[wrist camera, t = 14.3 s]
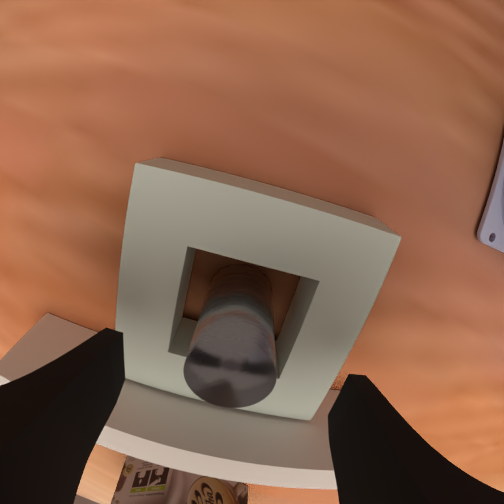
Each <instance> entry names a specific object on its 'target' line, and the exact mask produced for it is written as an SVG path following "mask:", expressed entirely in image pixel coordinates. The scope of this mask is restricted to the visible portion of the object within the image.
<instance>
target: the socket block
mask: <svg viewBox="0 0 504 504" xmlns="http://www.w3.org/2000/svg"><path fill="white" fill-rule="evenodd" d="M401 238H402V237H401V236H400V235H398V234H397V233H396V232H394V231H393V230H392V229H390V228H389V227H388V226H386V225H385V224H384V223H382V222H381V221H380V220H378V219H377V218H375V217H373V216H370V215H367V214H364V213H361V212H358V211H355V210H352V209H348V208H345V207H342V206H339V205H336V204H333V203H330V202H327V201H323V200H320V199H317V198H314V197H310V196H307V195H304V194H300V193H297V192H293V191H290V190H287V189H283V188H280V187H276V186H273V185H269V184H265V183H262V182H258V181H255V180H251V179H247V178H243V177H240V176H236V175H232V174H228V173H224V172H220V171H216V170H212V169H208V168H204V167H200V166H196V165H192V164H187V163H183V162H179V161H174V160H170V159H166V158H161V157H160V158H156V159H151V160H146V161H142V162H137V163H135V168H134V173H133V179H132V184H131V190H130V196H129V202H128V208H127V214H126V221H125V228H124V236H123V244H122V252H121V261H120V271H119V281H118V293H117V308H116V325H115V330H116V331H119V332H123V340H124V364H125V378H127V379H130V380H133V381H136V382H139V383H142V384H145V385H148V386H151V387H155V388H158V389H161V390H165V391H168V392H172V393H175V394H179V395H182V396H186V397H190V398H194V399H198V400H202V399H201V398H199V397H198V396H197V395H196V394H194V393H193V392H192V390H191V389H190V388H189V387H188V385H187V383H186V381H185V378H184V374H183V368H184V363H185V360H186V357H187V354H188V350H189V347H190V344H191V341H192V338H193V335H194V332H195V328H196V325H197V322H198V321H195V320H191V319H188V318H184V317H182V316H183V311H184V306H185V301H186V296H187V291H188V286H189V281H190V276H191V271H192V267H193V262H194V257H195V253H196V249H200V250H204V251H207V252H211V253H215V254H219V255H222V256H226V257H230V258H234V259H237V260H241V261H245V262H249V263H253V264H256V265H260V266H264V267H268V268H272V269H275V270H279V271H283V272H287V273H291V274H295V275H299V276H301V277H300V280H299V283H298V285H297V288H296V291H295V294H294V296H293V299H292V302H291V305H290V307H289V310H288V313H287V315H286V318H285V320H284V323H283V326H282V328H281V331H280V334H279V336H278V339H277V341H276V340H275V355H276V373H277V378H276V384H275V387H274V389H273V390H272V392H271V393H270V394H269V395H268V396H267V397H266V398H265V399H263V400H262V401H260V402H258V403H256V404H254V405H251V406H247V407H241V408H237V409H242V410H247V411H252V412H258V413H263V414H269V415H275V416H281V417H288V418H295V419H302V420H310V421H311V419H312V417H313V416H314V414H315V413H316V411H317V409H318V408H319V406H320V404H321V403H322V401H323V399H324V398H325V396H326V394H327V392H328V391H329V389H330V387H331V385H332V384H333V382H334V380H335V378H336V377H337V375H338V373H339V371H340V369H341V368H342V366H343V364H344V362H345V360H346V358H347V356H348V355H349V353H350V351H351V349H352V347H353V345H354V343H355V341H356V339H357V337H358V335H359V333H360V331H361V329H362V327H363V325H364V323H365V321H366V319H367V317H368V315H369V313H370V310H371V308H372V306H373V304H374V302H375V300H376V297H377V295H378V293H379V291H380V289H381V286H382V284H383V282H384V279H385V277H386V275H387V272H388V270H389V268H390V265H391V263H392V260H393V258H394V256H395V253H396V251H397V248H398V246H399V243H400V240H401ZM202 401H204V400H202Z"/></svg>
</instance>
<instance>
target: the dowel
mask: <svg viewBox="0 0 504 504" xmlns="http://www.w3.org/2000/svg"><path fill="white" fill-rule="evenodd" d="M183 374H184V378H185V381H186V383H187V385H188V387H189V388H190V389H191V390H192V392H193V393H194V394H196V395H197V396H198V397H199V398H201V399H202V400H204V401H206V402H208V403H211V404H213V405H217V406H221V407H227V408H241V407H247V406H251V405H254V404H256V403H258V402H260V401H262V400H263V399H265V398H266V397H267V396H268V395H269V394H270V393H271V392H272V390H273V389H274V387H275V384H276V378H277V373H276V355H275V338H274V322H273V305H272V291H271V285H270V283H269V280H268V279H267V277H266V276H265V275H264V274H263V273H262V272H261V271H260V270H258V269H257V268H255V267H252V266H250V265H245V264H233V265H229V266H226V267H224V268H222V269H221V270H219V271H218V272H217V273H216V274H215V275H214V277H213V278H212V280H211V283H210V286H209V289H208V292H207V295H206V298H205V301H204V304H203V307H202V310H201V313H200V316H199V319H198V322H197V325H196V328H195V332H194V335H193V338H192V341H191V344H190V347H189V350H188V354H187V357H186V360H185V363H184V368H183Z"/></svg>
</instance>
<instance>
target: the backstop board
mask: <svg viewBox="0 0 504 504" xmlns="http://www.w3.org/2000/svg"><path fill="white" fill-rule="evenodd" d="M97 333H98V332H96V331H93V330H90V329H88V328H85V327H82V326H80V325H77V324H74V323H72V322H69V321H67V320H64V319H62V318H59V317H57V316H54V315H52V314H50V313H46V314H45V315H44V316H43V317H42V318H41V319H40V320H39V321H38V322H37V323H36V324H35V325H34V326H33V327H32V328H31V329H30V330H29V331H28V332H27V333H26V334H25V335H24V336H23V337H22V338H21V339H20V340H19V341H18V342H17V343H16V344H15V345H14V346H13V347H12V348H11V349H10V351H9V352H8V353H7V354H6V355H5V356H4V357H3V358H2V359H1V360H0V386H1V385H3V384H6V383H8V382H11V381H13V380H16V379H18V378H20V377H23V376H25V375H27V374H29V373H31V372H33V371H35V370H37V369H39V368H40V367H42V366H44V365H46V364H48V363H50V362H51V361H53V360H55V359H57V358H59V357H60V356H62V355H63V354H65V353H67V352H68V351H70V350H72V349H73V348H75V347H76V346H78V345H80V344H81V343H83V342H84V341H86V340H87V339H89V338H90V337H92V336H94V335H95V334H97ZM339 393H340V390H332V389H329V391H328V392H327V394H326V396H325V398H324V399H323V401H322V403H321V404H320V406H319V408H318V409H317V411H316V413H315V414H314V416H313V417H312V419H311V421H310V420H302V419H295V418H288V417H281V416H275V415H269V414H263V413H258V412H252V411H247V410H242V409H237V408H227V407H221V406H217V405H213V404H211V403H208V402H206V401H202V400H198V399H194V398H190V397H186V396H182V395H179V394H175V393H172V392H168V391H165V390H161V389H158V388H155V387H151V386H148V385H145V384H142V383H139V382H136V381H133V380H130V379H127V378H125V381H124V384H123V387H122V390H121V392H120V395H119V398H118V400H117V403H116V405H115V407H114V409H113V411H112V413H111V415H110V417H109V419H108V421H107V423H106V424H105V426H104V428H103V430H102V432H101V434H100V436H99V438H98V440H97V442H96V444H98V445H101V446H104V447H106V448H109V449H112V450H114V451H117V452H120V453H123V454H126V455H129V456H132V457H135V458H138V459H141V460H144V461H148V462H151V463H155V464H158V465H162V466H165V467H169V468H173V469H177V470H181V471H185V472H189V473H194V474H198V475H203V476H208V477H213V478H218V479H224V480H230V481H236V482H243V483H250V484H258V485H266V486H276V487H288V488H305V489H337V484H336V478H335V473H334V468H333V462H332V457H331V451H330V445H329V435H328V414H329V412H330V410H331V408H332V406H333V404H334V402H335V400H336V398H337V397H338V395H339Z"/></svg>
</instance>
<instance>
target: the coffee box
mask: <svg viewBox="0 0 504 504" xmlns="http://www.w3.org/2000/svg"><path fill="white" fill-rule="evenodd" d="M247 501H248V486H246V485H245V484H243V483H242V482H236V481H230V480H224V479H218V478H213V477H208V476H203V475H198V474H194V473H189V472H185V471H181V470H177V469H173V468H169V467H165V466H162V465H158V464H155V463H151V462H148V461H144V460H141V459H138V458H135V457H132V456H129V455H127V457H126V460H125V463H124V466H123V469H122V472H121V475H120V478H119V481H118V484H117V487H116V490H115V492H114V495H113V499H112V501H111V504H247Z"/></svg>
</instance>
